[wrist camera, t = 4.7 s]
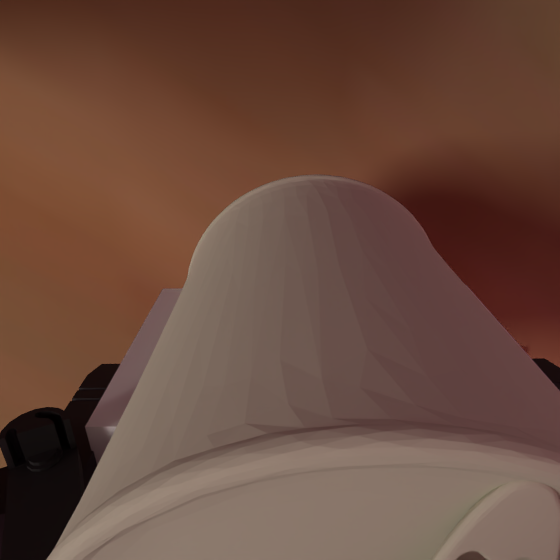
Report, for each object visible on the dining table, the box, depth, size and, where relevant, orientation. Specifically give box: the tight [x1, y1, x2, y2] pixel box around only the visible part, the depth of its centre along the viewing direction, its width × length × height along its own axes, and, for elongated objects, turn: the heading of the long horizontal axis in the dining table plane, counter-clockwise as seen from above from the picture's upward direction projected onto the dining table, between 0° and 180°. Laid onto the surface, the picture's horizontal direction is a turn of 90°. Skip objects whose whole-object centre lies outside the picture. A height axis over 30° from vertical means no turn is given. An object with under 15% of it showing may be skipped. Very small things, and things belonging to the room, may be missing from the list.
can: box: [46, 175, 560, 560], centre depth 11 cm, size 9×9×12 cm
